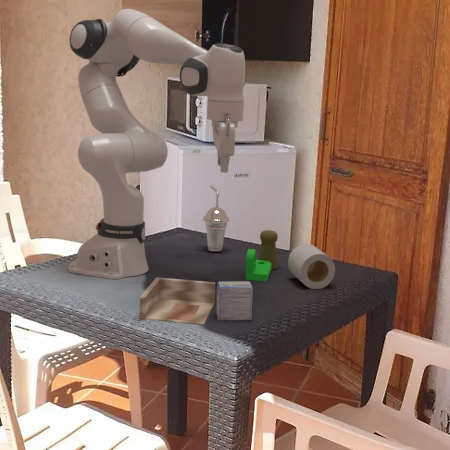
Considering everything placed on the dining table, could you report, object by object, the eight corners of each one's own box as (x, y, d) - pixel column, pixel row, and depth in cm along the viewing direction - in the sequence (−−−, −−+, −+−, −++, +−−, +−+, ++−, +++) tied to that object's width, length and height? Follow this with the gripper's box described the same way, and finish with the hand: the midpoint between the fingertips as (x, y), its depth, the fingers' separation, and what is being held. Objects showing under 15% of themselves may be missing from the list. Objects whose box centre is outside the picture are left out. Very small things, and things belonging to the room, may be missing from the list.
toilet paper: (286, 278, 189) (289, 244, 187) (319, 276, 191) (322, 243, 189) (299, 290, 180) (301, 254, 177) (333, 288, 182) (336, 253, 180)
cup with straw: (200, 252, 211) (202, 190, 206) (202, 245, 219) (204, 185, 215) (227, 253, 210) (230, 191, 206) (228, 246, 219) (231, 186, 214)
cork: (255, 268, 196) (257, 232, 194) (258, 262, 202) (260, 227, 200) (276, 270, 195) (278, 234, 193) (278, 264, 201) (280, 229, 199)
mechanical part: (266, 281, 185) (268, 254, 183) (245, 279, 186) (246, 252, 184) (272, 267, 196) (273, 241, 194) (252, 265, 197) (253, 239, 195)
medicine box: (248, 315, 160) (250, 280, 158) (251, 322, 156) (253, 287, 154) (215, 315, 159) (217, 281, 157) (218, 322, 155) (219, 287, 153)
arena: (139, 321, 154) (140, 297, 152) (155, 299, 168) (156, 277, 167) (203, 327, 152) (204, 303, 150) (214, 304, 166) (215, 282, 165)
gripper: (242, 117, 153) (239, 176, 156) (234, 109, 172) (231, 162, 176) (215, 116, 152) (212, 175, 156) (209, 108, 172) (207, 162, 175)
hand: (222, 168), depth 166 cm, fingers open, 8 cm apart
